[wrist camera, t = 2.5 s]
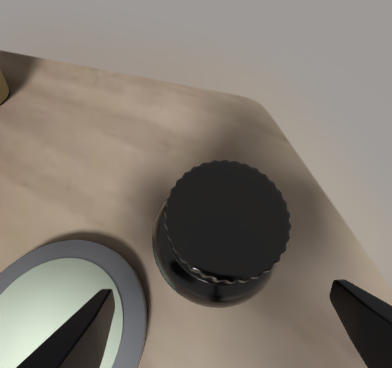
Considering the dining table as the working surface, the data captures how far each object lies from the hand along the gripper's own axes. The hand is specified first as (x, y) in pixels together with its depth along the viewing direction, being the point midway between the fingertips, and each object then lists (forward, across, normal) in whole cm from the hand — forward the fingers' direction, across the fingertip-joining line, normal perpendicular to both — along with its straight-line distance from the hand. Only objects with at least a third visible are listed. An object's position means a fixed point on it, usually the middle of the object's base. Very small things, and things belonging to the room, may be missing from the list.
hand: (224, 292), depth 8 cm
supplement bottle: (+9, 0, +5) cm, 10 cm away
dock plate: (+5, +11, +9) cm, 15 cm away
